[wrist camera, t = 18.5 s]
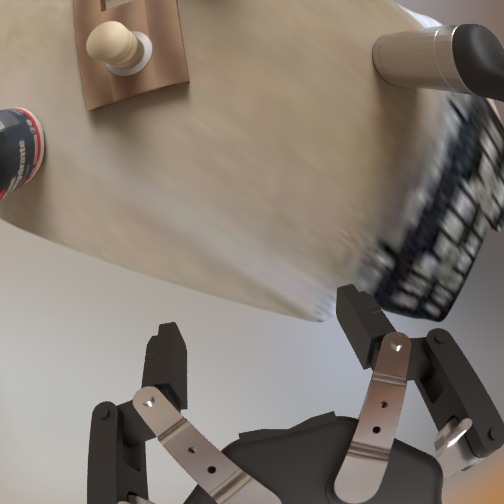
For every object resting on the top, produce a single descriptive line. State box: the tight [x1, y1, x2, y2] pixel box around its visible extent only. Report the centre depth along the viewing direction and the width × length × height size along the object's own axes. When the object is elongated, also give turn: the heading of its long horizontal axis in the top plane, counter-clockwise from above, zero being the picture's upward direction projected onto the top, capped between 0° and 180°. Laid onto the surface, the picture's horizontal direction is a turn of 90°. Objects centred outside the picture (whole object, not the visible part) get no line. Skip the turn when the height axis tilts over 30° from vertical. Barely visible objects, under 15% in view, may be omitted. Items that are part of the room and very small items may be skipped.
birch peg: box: [86, 21, 145, 69], centre depth 22 cm, size 4×4×9 cm
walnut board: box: [73, 0, 190, 111], centre depth 24 cm, size 14×24×3 cm, turn 8°
